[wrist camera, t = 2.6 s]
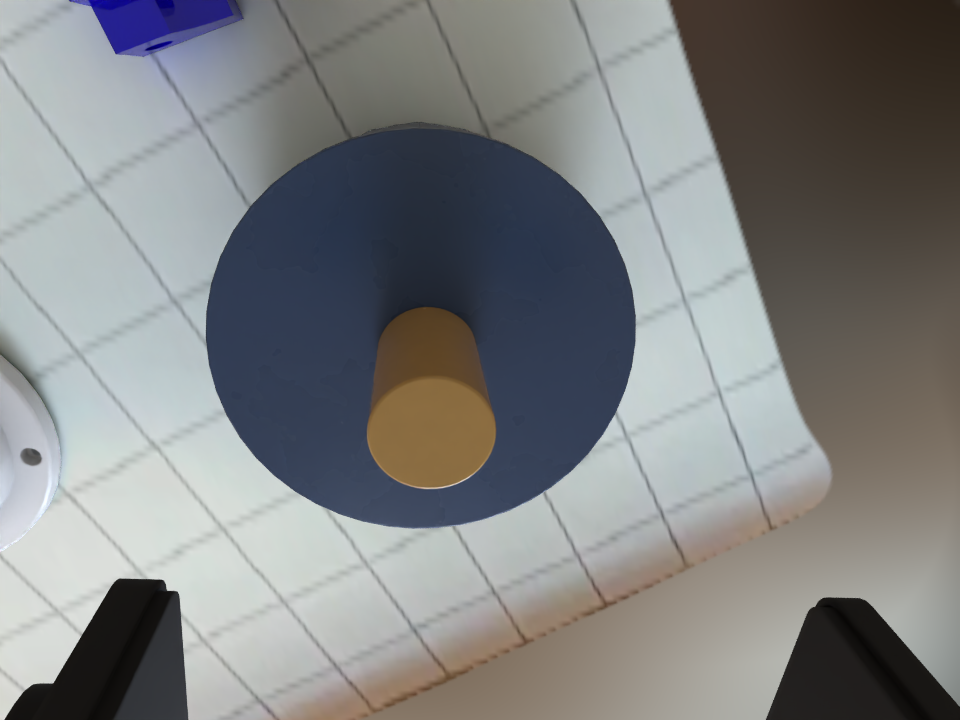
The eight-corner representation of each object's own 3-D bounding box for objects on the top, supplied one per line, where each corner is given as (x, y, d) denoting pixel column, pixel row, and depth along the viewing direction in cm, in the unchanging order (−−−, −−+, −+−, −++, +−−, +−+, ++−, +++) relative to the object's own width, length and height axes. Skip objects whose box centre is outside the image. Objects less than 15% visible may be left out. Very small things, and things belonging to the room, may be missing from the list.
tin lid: (281, 537, 23) (238, 685, 18) (155, 167, 18) (39, 206, 13) (636, 472, 24) (706, 595, 18) (609, 90, 19) (696, 94, 13)
